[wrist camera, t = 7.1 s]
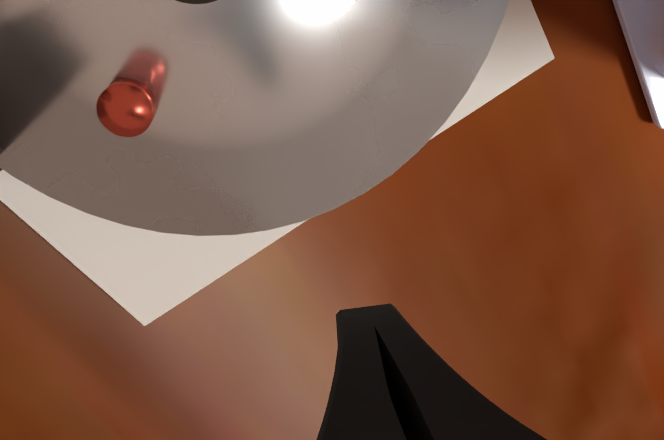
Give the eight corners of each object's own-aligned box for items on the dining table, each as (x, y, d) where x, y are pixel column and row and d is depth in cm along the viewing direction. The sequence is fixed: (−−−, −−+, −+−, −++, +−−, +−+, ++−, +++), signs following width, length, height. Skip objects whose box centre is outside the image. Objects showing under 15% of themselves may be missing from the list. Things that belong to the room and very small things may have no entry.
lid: (297, -866, 7) (315, -1192, 5) (590, 40, 14) (650, 58, 12) (-647, 29, 10) (-875, 50, 8) (-42, 424, 17) (-83, 492, 15)
